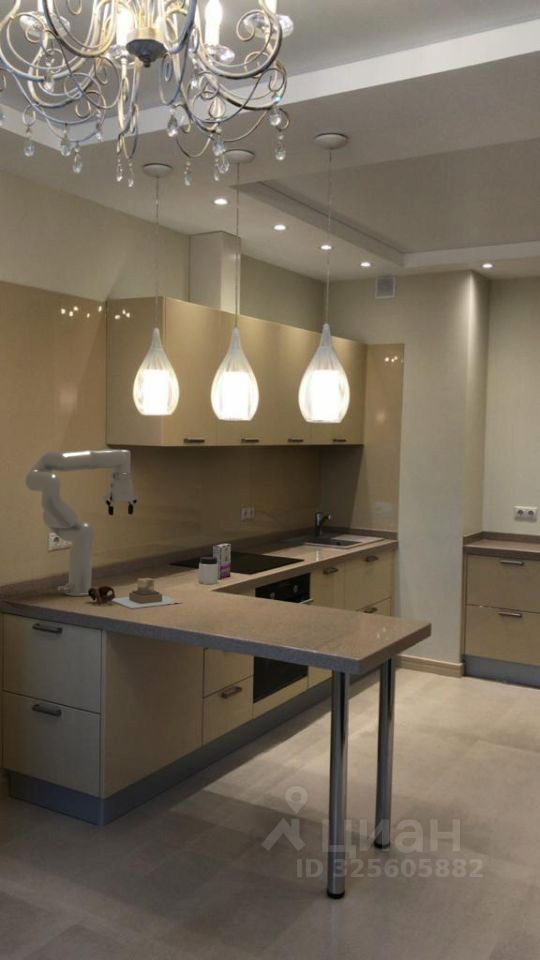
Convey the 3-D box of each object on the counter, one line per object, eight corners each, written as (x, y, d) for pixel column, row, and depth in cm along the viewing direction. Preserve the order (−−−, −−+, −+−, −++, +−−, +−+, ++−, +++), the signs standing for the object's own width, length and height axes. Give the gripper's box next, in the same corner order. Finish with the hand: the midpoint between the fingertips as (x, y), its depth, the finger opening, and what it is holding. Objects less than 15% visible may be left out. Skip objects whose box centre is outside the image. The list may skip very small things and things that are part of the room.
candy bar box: (221, 575, 425) (222, 543, 424) (230, 576, 423) (231, 544, 422) (211, 578, 415) (212, 545, 414) (220, 579, 413) (221, 546, 412)
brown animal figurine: (117, 602, 353) (119, 587, 348) (108, 616, 345) (111, 601, 340) (90, 593, 354) (92, 578, 349) (81, 607, 346) (83, 592, 341)
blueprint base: (131, 609, 337) (132, 598, 337) (108, 600, 353) (108, 590, 353) (182, 603, 352) (183, 593, 352) (158, 595, 368) (158, 585, 368)
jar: (211, 584, 398) (212, 559, 397) (196, 583, 401) (196, 558, 400) (219, 582, 406) (220, 557, 405) (204, 580, 409) (205, 556, 408)
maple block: (143, 595, 349) (143, 580, 349) (137, 593, 353) (137, 578, 352) (153, 593, 352) (154, 579, 352) (147, 591, 356) (148, 577, 356)
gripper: (107, 477, 372) (107, 516, 373) (142, 477, 383) (141, 514, 384) (100, 476, 378) (99, 514, 379) (134, 476, 389) (133, 513, 390)
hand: (120, 514), depth 382 cm, fingers open, 9 cm apart
